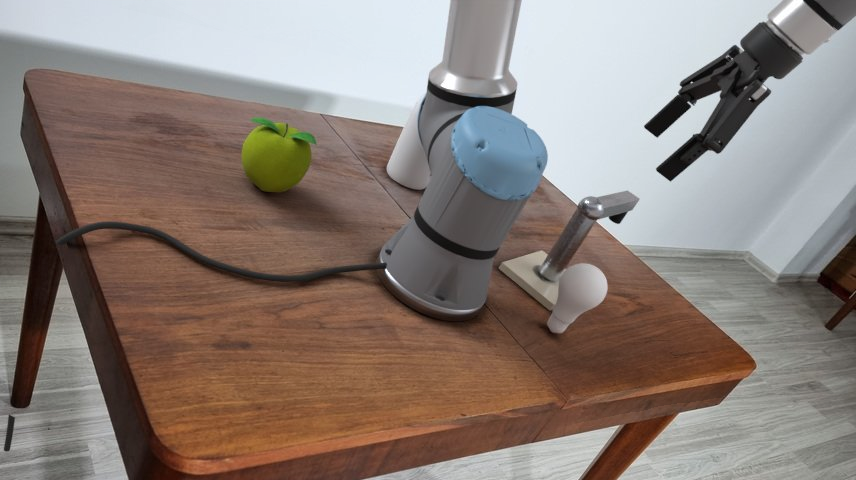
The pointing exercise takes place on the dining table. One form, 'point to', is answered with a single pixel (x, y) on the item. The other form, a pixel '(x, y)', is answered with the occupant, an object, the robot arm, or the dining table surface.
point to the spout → (585, 228)
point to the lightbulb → (577, 295)
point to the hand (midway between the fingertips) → (656, 152)
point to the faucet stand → (532, 277)
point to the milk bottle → (410, 156)
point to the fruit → (276, 155)
